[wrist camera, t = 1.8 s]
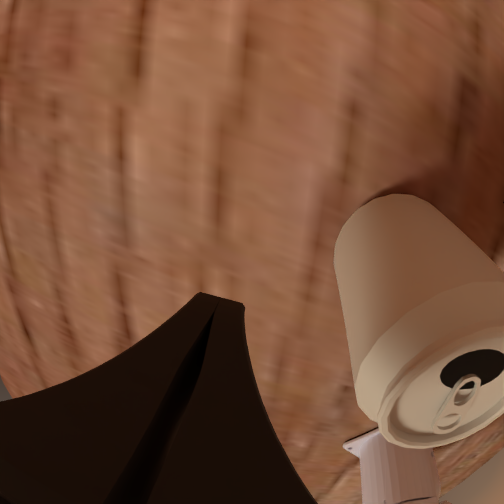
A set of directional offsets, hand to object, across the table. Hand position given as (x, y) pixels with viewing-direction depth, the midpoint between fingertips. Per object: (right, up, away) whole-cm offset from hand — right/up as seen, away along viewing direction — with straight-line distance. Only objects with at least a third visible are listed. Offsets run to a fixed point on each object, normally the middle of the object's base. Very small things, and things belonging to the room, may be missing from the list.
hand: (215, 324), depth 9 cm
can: (+10, +2, +9) cm, 14 cm away
